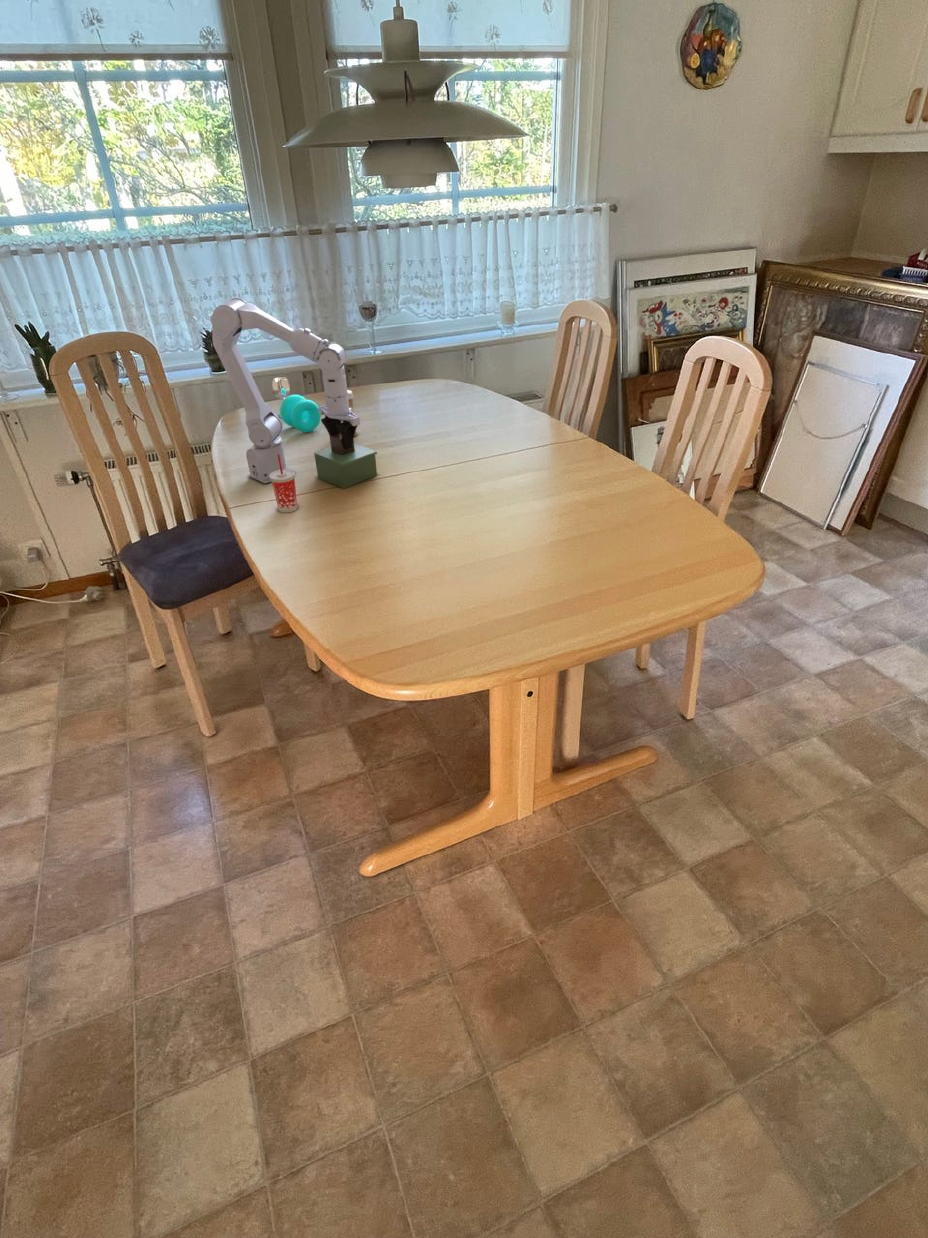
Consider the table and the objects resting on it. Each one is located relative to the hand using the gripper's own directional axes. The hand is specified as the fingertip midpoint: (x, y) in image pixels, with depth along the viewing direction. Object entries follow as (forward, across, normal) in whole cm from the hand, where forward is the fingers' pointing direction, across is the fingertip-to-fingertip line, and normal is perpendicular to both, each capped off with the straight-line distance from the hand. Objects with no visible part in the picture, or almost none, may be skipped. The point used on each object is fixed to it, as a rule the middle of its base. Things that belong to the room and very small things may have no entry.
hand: (342, 446), depth 184 cm
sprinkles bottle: (+9, +24, -20) cm, 33 cm away
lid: (+2, -1, 0) cm, 2 cm away
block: (+1, 0, 0) cm, 1 cm away
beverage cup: (+9, -5, +22) cm, 25 cm away
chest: (+8, 0, 0) cm, 8 cm away
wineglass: (+9, +55, -18) cm, 59 cm away
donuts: (+9, +40, -14) cm, 43 cm away
